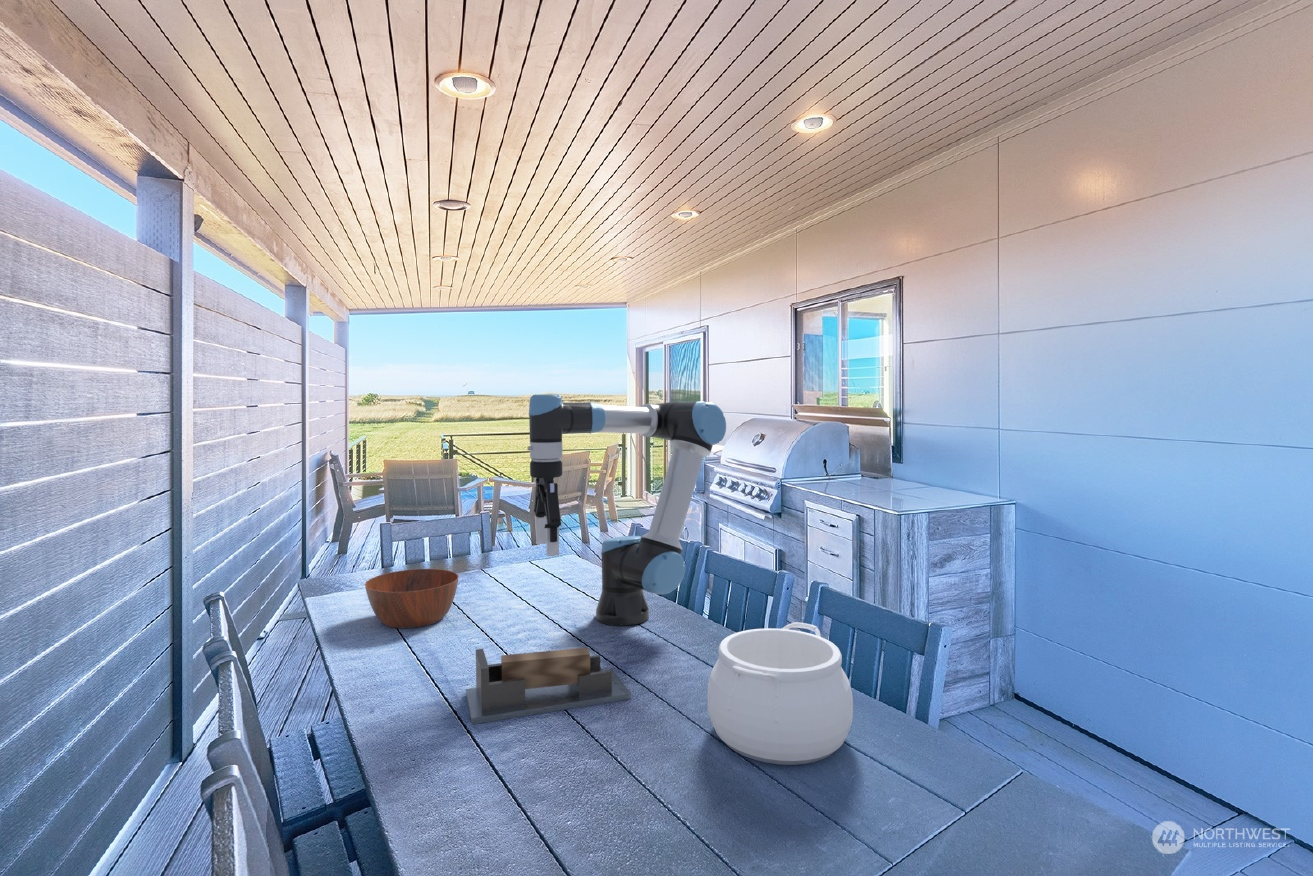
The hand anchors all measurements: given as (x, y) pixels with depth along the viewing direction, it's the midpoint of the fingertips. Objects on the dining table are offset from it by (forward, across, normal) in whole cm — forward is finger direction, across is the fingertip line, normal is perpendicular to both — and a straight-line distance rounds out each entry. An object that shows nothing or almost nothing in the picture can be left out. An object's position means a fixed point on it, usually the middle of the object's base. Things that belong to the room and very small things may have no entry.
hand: (547, 549), depth 161 cm
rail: (+24, +20, -4) cm, 31 cm away
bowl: (+27, -43, -30) cm, 59 cm away
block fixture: (+27, +20, -4) cm, 34 cm away
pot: (+27, +51, +33) cm, 66 cm away
